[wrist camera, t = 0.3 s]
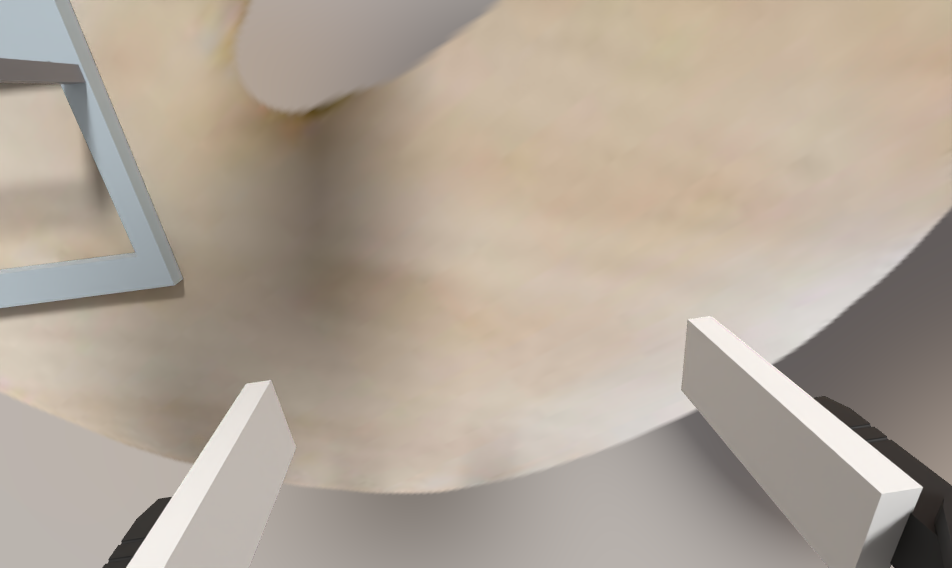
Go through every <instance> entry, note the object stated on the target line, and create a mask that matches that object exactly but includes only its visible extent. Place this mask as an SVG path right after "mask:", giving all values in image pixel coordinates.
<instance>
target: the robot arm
mask: <svg viewBox="0 0 952 568" xmlns="http://www.w3.org/2000/svg"><path fill="white" fill-rule="evenodd" d="M681 390H682V391H683V393H684V394H685V395H686V396H687V397H688V399H689V400H690V401H691V402H692V403H693V405H694V406H695V407H696V408H697V409H698V411H699V412H700V413H701V414H702V415H703V417H704V418H705V419H706V420H707V422H708V423H709V424H710V425H711V426H712V428H713V429H714V430H715V431H716V432H717V434H718V435H719V436H720V437H721V438H722V440H723V441H724V442H725V443H726V445H727V446H728V447H729V448H730V449H731V451H732V452H733V453H734V454H735V455H736V457H737V458H738V459H739V460H740V461H741V463H742V464H743V465H744V466H745V467H746V469H747V470H748V471H749V472H750V474H751V475H752V476H753V477H754V478H755V480H756V481H757V482H758V483H759V484H760V486H761V487H762V488H763V489H764V491H765V492H766V493H767V494H768V495H769V496H770V498H771V499H772V500H773V501H774V503H775V504H776V505H777V506H778V507H779V509H780V510H781V511H782V512H783V513H784V515H785V516H786V517H787V518H788V520H789V521H790V522H791V523H792V524H793V526H794V527H795V528H796V529H797V530H798V532H799V533H800V534H801V535H802V536H803V538H804V539H805V540H806V541H807V542H808V544H809V545H810V546H811V547H812V549H813V550H814V551H815V552H816V553H817V555H818V556H819V557H820V558H821V559H822V561H823V562H824V563H825V564H826V565H827V567H828V568H890V567H891V565H893V567H894V568H952V486H951V485H950V484H949V483H948V482H946V481H945V480H944V479H942V478H941V477H940V476H938V475H937V474H936V473H934V472H933V471H932V470H930V469H929V468H928V467H926V466H925V465H924V464H923V463H921V462H920V461H919V460H917V459H916V458H915V457H913V456H912V455H911V454H909V453H908V452H907V451H905V450H904V449H903V448H902V447H900V446H899V445H898V444H896V443H895V442H894V441H892V440H888V439H887V436H886V435H884V434H883V433H882V432H881V431H879V430H878V429H876V428H875V427H871V426H870V423H869V422H867V421H866V420H865V419H863V418H862V417H861V416H859V415H858V414H857V413H856V412H854V411H853V410H852V409H850V408H848V407H846V406H844V405H842V404H840V403H838V402H836V401H834V400H831V399H830V398H828V397H825V396H822V397H815V398H812V397H811V396H809V395H808V394H807V393H806V392H805V391H803V390H802V389H801V388H800V387H798V386H797V385H796V384H795V383H794V382H792V381H791V380H790V379H789V378H787V377H786V376H785V375H784V374H782V373H781V372H780V371H779V370H777V369H776V368H775V367H774V366H773V365H771V364H770V363H769V362H768V361H766V360H765V359H764V358H763V357H761V356H760V355H759V354H758V353H756V352H755V351H754V350H753V349H752V348H750V347H749V346H748V345H747V344H745V343H744V342H743V341H742V340H740V339H739V338H738V337H737V336H735V335H734V334H733V333H732V332H731V331H729V330H728V329H727V328H726V327H724V326H723V325H722V324H721V323H719V322H718V321H717V320H716V319H714V318H713V317H712V316H707V317H700V318H693V319H688V321H687V332H686V343H685V354H684V365H683V377H682V388H681ZM295 450H296V445H295V443H294V440H293V437H292V435H291V432H290V429H289V427H288V424H287V421H286V418H285V416H284V413H283V410H282V408H281V405H280V402H279V400H278V397H277V394H276V391H275V389H274V386H273V383H272V381H271V380H267V381H261V382H254V383H247V384H246V385H245V386H244V388H243V389H242V391H241V392H240V394H239V395H238V397H237V398H236V400H235V402H234V403H233V405H232V406H231V408H230V409H229V411H228V412H227V414H226V415H225V417H224V418H223V420H222V421H221V423H220V425H219V426H218V428H217V429H216V431H215V432H214V434H213V435H212V437H211V438H210V440H209V441H208V443H207V444H206V446H205V448H204V449H203V451H202V452H201V454H200V455H199V457H198V458H197V460H196V461H195V463H194V464H193V466H192V468H191V469H190V471H189V472H188V474H187V475H186V477H185V478H184V480H183V481H182V483H181V484H180V486H179V488H178V489H177V491H176V492H175V494H174V495H173V497H168V498H162V499H158V500H157V501H156V502H155V503H154V504H152V505H151V506H150V507H149V508H148V509H147V510H146V511H145V512H144V513H143V514H142V515H141V516H139V517H138V518H137V519H136V521H135V522H134V524H133V525H132V527H131V528H130V530H129V531H128V532H127V534H126V535H125V536H124V538H123V540H122V544H121V545H118V547H117V548H116V549H115V551H114V552H113V554H112V555H111V556H110V558H109V562H108V564H105V565H104V566H103V568H249V567H250V565H251V562H252V560H253V557H254V555H255V552H256V549H257V547H258V544H259V542H260V539H261V537H262V534H263V531H264V529H265V527H266V524H267V521H268V519H269V516H270V514H271V511H272V509H273V506H274V503H275V501H276V499H277V496H278V493H279V491H280V488H281V486H282V483H283V481H284V478H285V476H286V473H287V470H288V468H289V465H290V463H291V460H292V458H293V455H294V453H295Z"/></svg>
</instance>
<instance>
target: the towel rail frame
mask: <svg viewBox="0 0 952 568" xmlns="http://www.w3.org/2000/svg"><path fill="white" fill-rule="evenodd" d="M0 83H32V84H61V87H62V89H63V91H64V93H65V96H66V98H67V100H68V102H69V105H70V107H71V109H72V111H73V114H74V116H75V118H76V120H77V123H78V125H79V127H80V129H81V132H82V134H83V136H84V138H85V140H86V143H87V145H88V147H89V149H90V152H91V154H92V156H93V158H94V161H95V163H96V165H97V167H98V170H99V172H100V174H101V176H102V179H103V181H104V183H105V185H106V188H107V190H108V192H109V194H110V197H111V199H112V201H113V203H114V206H115V208H116V210H117V212H118V215H119V217H120V219H121V221H122V224H123V226H124V228H125V230H126V232H127V235H128V237H129V239H130V241H131V244H132V246H133V248H134V250H135V253H127V254H119V255H112V256H104V257H96V258H88V259H80V260H72V261H65V262H57V263H49V264H41V265H33V266H25V267H18V268H10V269H2V270H0V308H5V307H13V306H21V305H28V304H36V303H44V302H51V301H59V300H67V299H74V298H82V297H90V296H97V295H105V294H113V293H120V292H128V291H136V290H143V289H151V288H159V287H166V286H174V285H176V284H177V283H178V282H180V281H181V280H183V277H182V274H181V272H180V269H179V267H178V265H177V262H176V260H175V257H174V255H173V252H172V250H171V248H170V245H169V243H168V240H167V238H166V235H165V233H164V230H163V228H162V226H161V223H160V221H159V218H158V216H157V213H156V211H155V208H154V206H153V204H152V201H151V199H150V196H149V194H148V191H147V189H146V186H145V184H144V182H143V179H142V177H141V174H140V172H139V169H138V167H137V165H136V162H135V160H134V157H133V155H132V152H131V150H130V147H129V145H128V143H127V140H126V138H125V135H124V133H123V130H122V128H121V125H120V123H119V121H118V118H117V116H116V113H115V111H114V108H113V106H112V103H111V101H110V99H109V96H108V94H107V91H106V89H105V86H104V84H103V82H102V79H101V77H100V74H99V72H98V69H97V67H96V64H95V62H94V60H93V57H92V55H91V52H90V50H89V47H88V45H87V42H86V40H85V38H84V35H83V33H82V30H81V28H80V25H79V23H78V20H77V18H76V16H75V13H74V11H73V8H72V6H71V3H70V1H69V0H0Z"/></svg>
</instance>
